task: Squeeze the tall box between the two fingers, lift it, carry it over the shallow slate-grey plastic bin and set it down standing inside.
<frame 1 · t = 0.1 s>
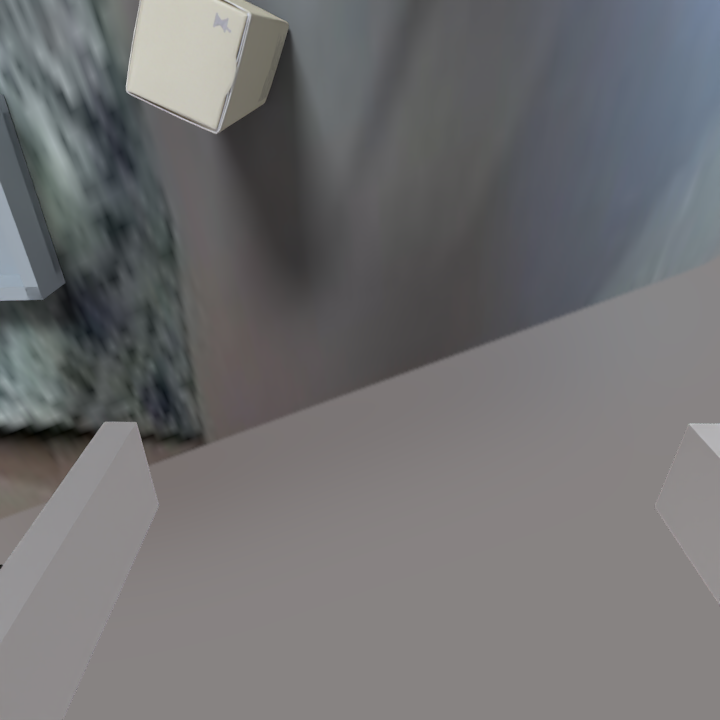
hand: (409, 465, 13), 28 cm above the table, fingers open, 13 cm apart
box: (245, 53, 32), on the table
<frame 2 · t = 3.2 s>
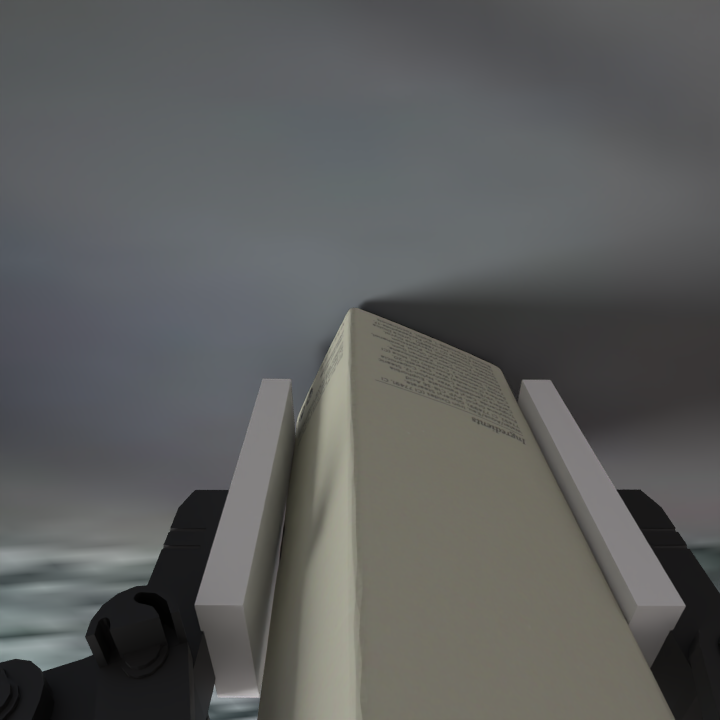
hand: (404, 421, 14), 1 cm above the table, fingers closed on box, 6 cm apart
box: (401, 388, 16), on the table, touching gripper
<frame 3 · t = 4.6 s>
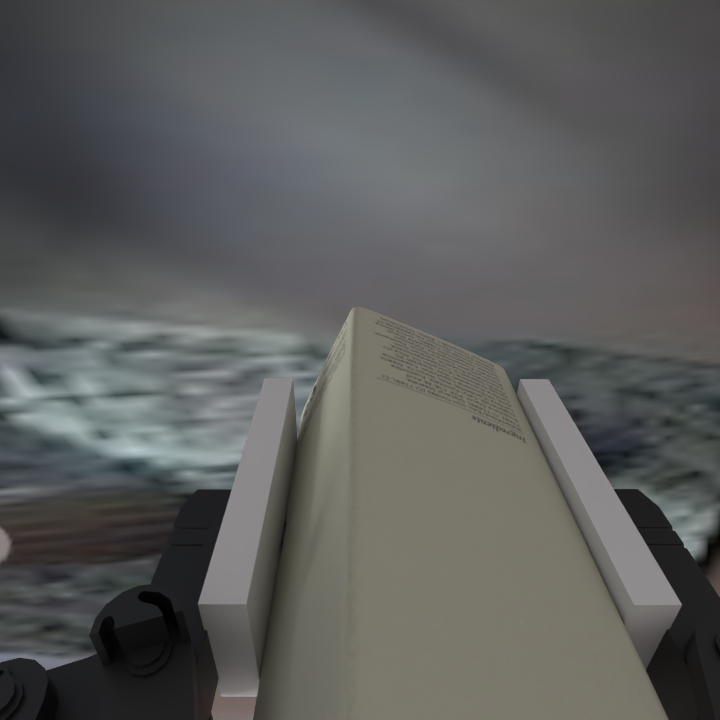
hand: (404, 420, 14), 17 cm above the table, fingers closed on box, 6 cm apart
box: (405, 386, 16), point 15 cm above the table, touching gripper
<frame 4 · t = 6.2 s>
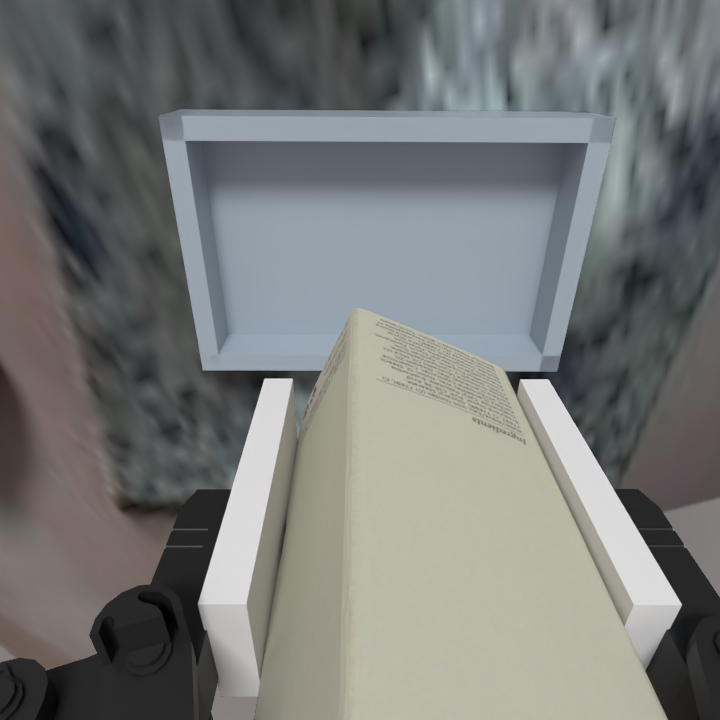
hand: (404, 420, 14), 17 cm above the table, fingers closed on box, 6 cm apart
bin: (381, 240, 28), on the table
box: (405, 388, 16), point 15 cm above the table, touching gripper
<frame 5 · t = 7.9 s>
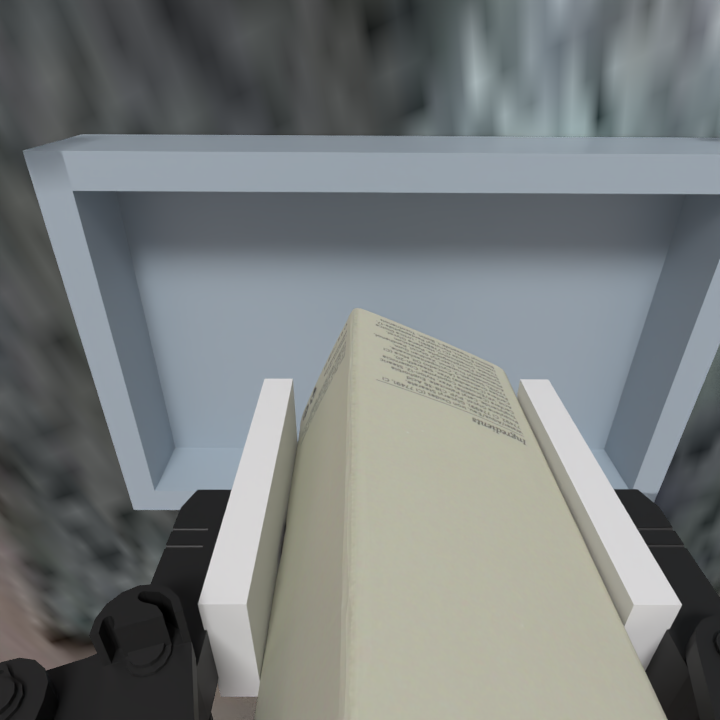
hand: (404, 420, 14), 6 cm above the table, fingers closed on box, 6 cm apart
bin: (393, 322, 19), on the table
box: (405, 388, 16), point 4 cm above the table, touching gripper
when the fingers open (4 cm above the table, at t = 9.2 s): box drops 1 cm, resting on bin.
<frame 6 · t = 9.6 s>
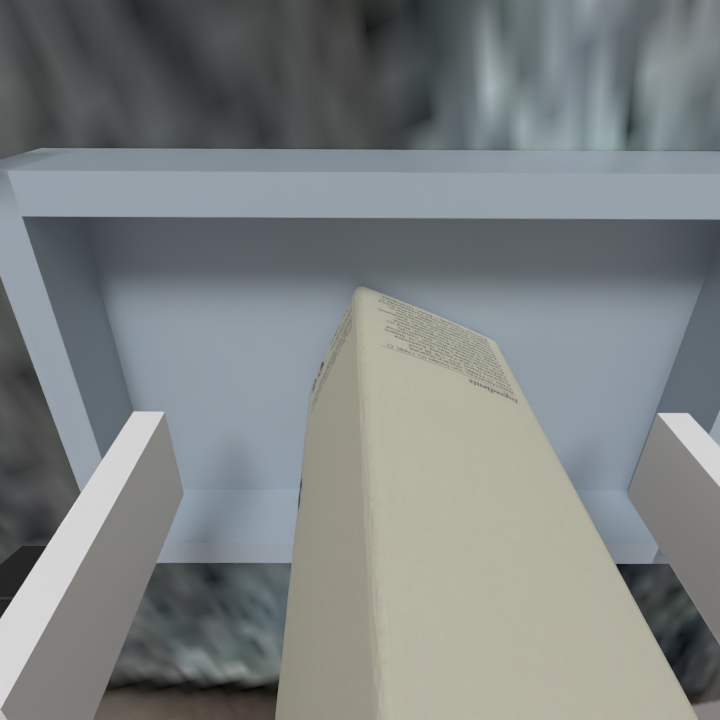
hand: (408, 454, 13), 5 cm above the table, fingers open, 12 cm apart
bin: (395, 354, 17), on the table
box: (405, 362, 17), point 1 cm above the table, touching bin
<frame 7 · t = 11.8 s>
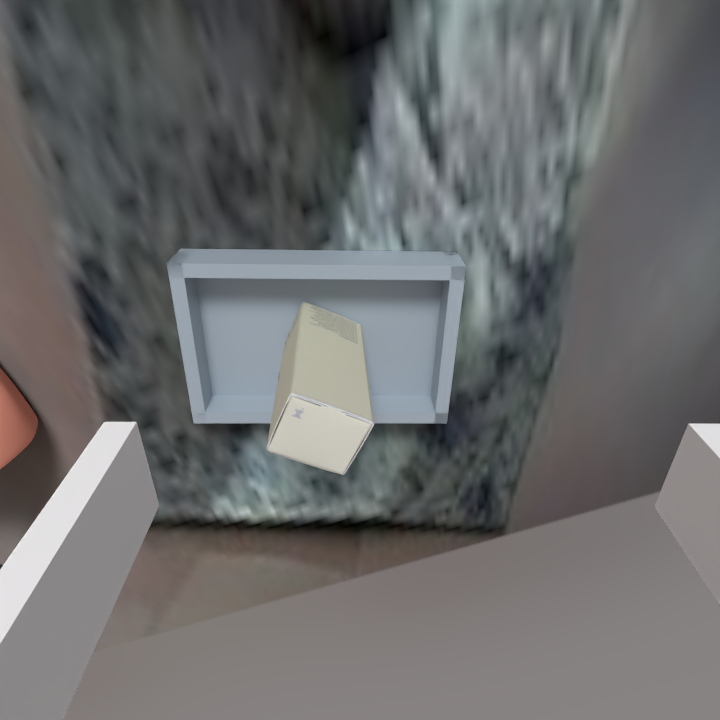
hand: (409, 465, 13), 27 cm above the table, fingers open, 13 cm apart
bin: (321, 331, 40), on the table
box: (324, 334, 40), point 1 cm above the table, touching bin
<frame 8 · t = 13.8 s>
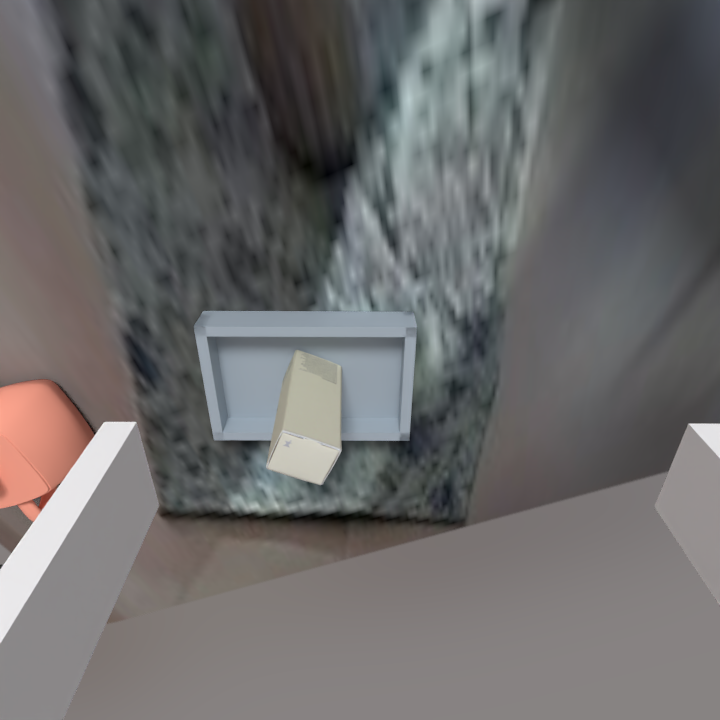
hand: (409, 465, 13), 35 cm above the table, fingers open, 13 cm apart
bin: (311, 369, 52), on the table
box: (313, 372, 51), point 1 cm above the table, touching bin
teapot: (34, 410, 55), on the table
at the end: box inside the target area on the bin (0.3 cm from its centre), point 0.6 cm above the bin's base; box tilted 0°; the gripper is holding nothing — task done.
